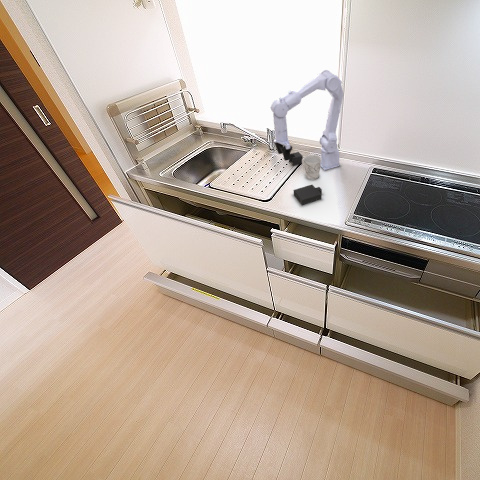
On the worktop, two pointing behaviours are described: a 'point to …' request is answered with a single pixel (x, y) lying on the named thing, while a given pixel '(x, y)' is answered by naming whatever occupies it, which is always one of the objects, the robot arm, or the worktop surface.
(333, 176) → the worktop surface
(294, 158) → the pad
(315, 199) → the base pad
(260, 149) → the worktop surface
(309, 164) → the mug
